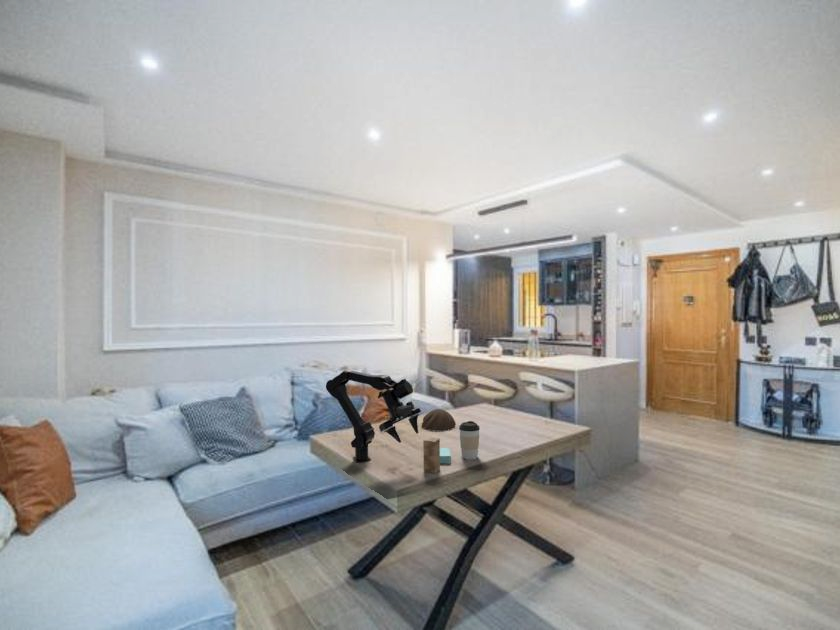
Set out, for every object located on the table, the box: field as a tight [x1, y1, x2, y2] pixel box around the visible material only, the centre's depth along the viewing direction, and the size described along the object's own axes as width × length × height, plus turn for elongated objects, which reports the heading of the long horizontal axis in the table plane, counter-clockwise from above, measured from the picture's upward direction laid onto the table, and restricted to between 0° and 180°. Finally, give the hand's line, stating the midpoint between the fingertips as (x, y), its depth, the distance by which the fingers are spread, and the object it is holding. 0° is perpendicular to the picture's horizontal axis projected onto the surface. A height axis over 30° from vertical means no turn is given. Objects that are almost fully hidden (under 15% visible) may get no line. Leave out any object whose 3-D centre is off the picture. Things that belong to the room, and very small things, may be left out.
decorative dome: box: [421, 408, 457, 432], centre depth 236 cm, size 19×20×10 cm
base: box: [440, 447, 452, 464], centre depth 182 cm, size 11×11×3 cm
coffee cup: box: [459, 420, 480, 460], centre depth 184 cm, size 9×9×15 cm
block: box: [422, 436, 441, 474], centre depth 168 cm, size 5×5×12 cm
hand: (409, 437), depth 172 cm, fingers open, 9 cm apart
